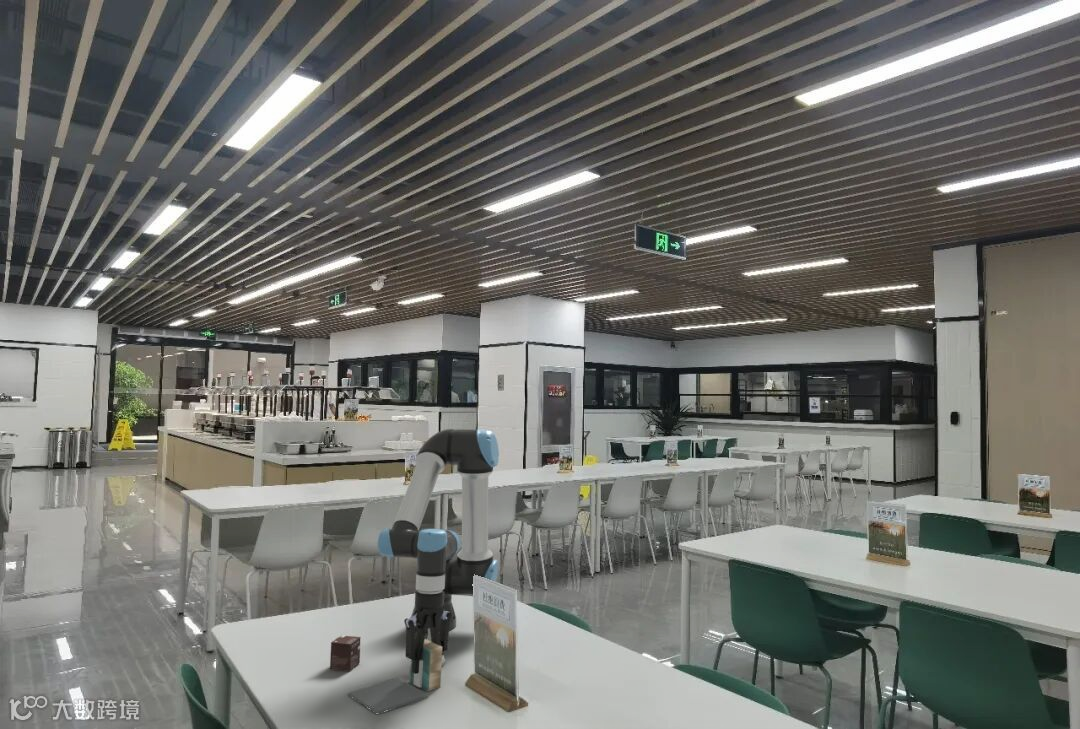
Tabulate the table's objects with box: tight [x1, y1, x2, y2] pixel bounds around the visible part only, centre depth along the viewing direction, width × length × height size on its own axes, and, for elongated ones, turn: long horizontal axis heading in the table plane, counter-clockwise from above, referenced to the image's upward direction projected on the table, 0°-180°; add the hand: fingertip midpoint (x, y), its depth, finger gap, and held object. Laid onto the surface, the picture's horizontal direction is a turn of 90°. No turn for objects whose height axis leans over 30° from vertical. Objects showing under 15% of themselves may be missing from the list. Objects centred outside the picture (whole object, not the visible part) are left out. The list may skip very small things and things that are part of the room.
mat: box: [347, 677, 429, 714], centre depth 163 cm, size 14×14×1 cm
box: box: [329, 635, 361, 672], centre depth 181 cm, size 6×6×7 cm
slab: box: [409, 638, 442, 692], centre depth 171 cm, size 4×8×10 cm, turn 43°
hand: (425, 683), depth 171 cm, fingers closed on slab, 4 cm apart
